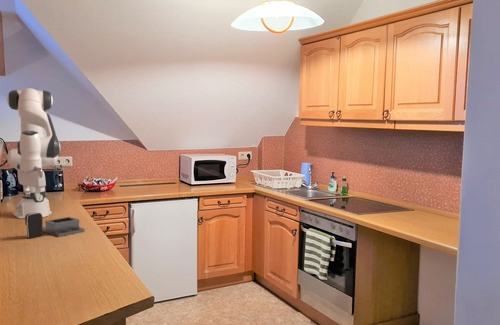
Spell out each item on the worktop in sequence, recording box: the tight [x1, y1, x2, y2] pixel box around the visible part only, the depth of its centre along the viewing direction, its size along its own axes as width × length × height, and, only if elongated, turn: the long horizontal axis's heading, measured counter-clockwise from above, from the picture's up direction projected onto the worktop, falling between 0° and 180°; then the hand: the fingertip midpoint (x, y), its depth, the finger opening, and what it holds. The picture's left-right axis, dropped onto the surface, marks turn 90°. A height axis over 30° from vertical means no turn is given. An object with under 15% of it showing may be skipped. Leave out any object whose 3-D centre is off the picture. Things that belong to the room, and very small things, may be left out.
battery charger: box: [24, 212, 44, 239], centre depth 208 cm, size 7×4×11 cm, turn 145°
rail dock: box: [42, 216, 86, 238], centre depth 219 cm, size 18×13×6 cm
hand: (32, 195), depth 207 cm, fingers open, 8 cm apart
